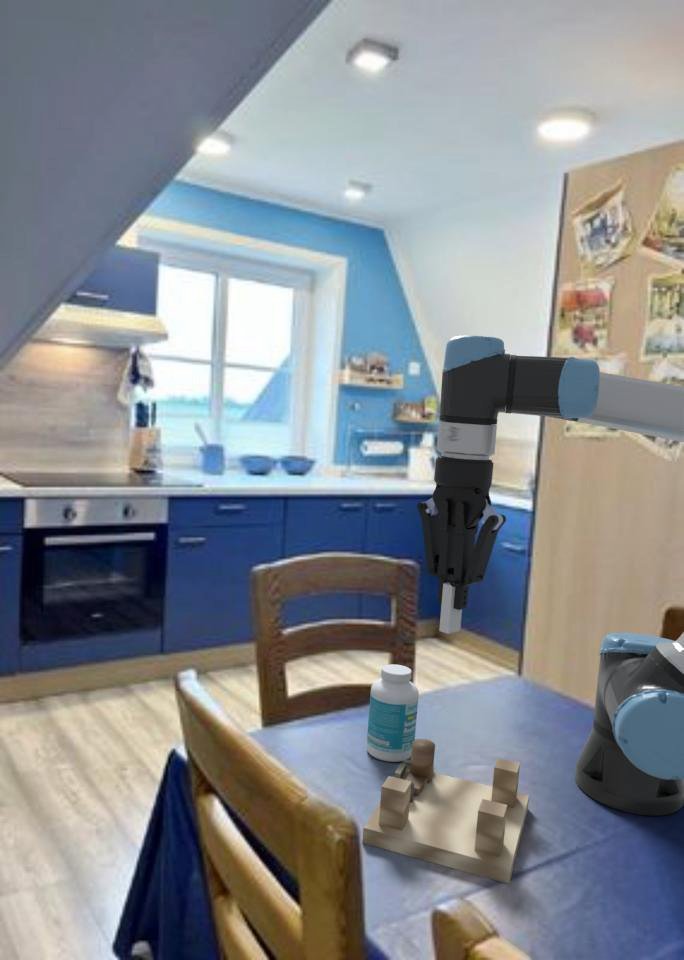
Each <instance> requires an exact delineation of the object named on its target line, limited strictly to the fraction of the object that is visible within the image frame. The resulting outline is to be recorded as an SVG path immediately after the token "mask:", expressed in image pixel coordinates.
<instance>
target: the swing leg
mask: <svg viewBox="0 0 684 960" xmlns="http://www.w3.org/2000/svg"><path fill="white" fill-rule="evenodd" d="M435 751H436V744H435V742H433V741H432V740H430V739H427V738H426V739H425V738H418V739H416V738H415V740H414V741H413V742H412V751H411V757H410V760H411V763H410V774H409V776H408V777H407V778H406V780H409V781H412V782H413V783H414V784H415V785H414V794H415V795H419V794H420V792H421V791H422V789H423V788H424V787H425V785H426V784H427V783H430V782H431V781H432V776H433V766H435V763H434V762H435V761H434V760H435Z"/></svg>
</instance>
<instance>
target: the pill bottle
mask: <svg viewBox="0 0 684 960" xmlns="http://www.w3.org/2000/svg"><path fill="white" fill-rule="evenodd" d="M380 677H381V678H378V679H376V680H375V681H374V682H373V683H372V685H371V687H370V694H369V695H370V698H369V711H368V712H369V713H368V722H367V732H366V733H367V734H366V751H367V752H368V753H369V754H370V756H372V757H373V758H375V759H377V760H380V761H383V762H392V763H395V762H396V763H397V762H404V760H405V759H407V760H410V759H411V751H412V742H413V741H414V740H416V729H417V715H418V706H419V696H420V695H419V689H418V687H417V686H416V685H415V683H413V682H412V681H411V679H412V669H411V668H409V667H408V666H405V665H401V664H395V663H394V664H392V663H391V664H385V665H383V666H382V667H381V670H380Z"/></svg>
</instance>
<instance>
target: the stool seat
mask: <svg viewBox="0 0 684 960" xmlns="http://www.w3.org/2000/svg"><path fill="white" fill-rule="evenodd" d="M410 763H411V759H405V760H404V761H402V762H401V763H399V766H398V767H397V769H396V770H395V772H394V775H393V776H390V775H388V776H387V777H386V780H385V781H383V784H382V785H381V791H380V800H379V802H378V804H377V805H376V807H375V809H374V811H373V812H372V814H371V815H370V816H369V818H368V820H367V821H366V823H365V825H364V826H363V829H362V840H361V841H362V842H361V843H362V844H366V845H369V846H373V847H375V848H376V847H377V848H379V849H382V850H385V851H386V850H387V851H390V852H393V853H397V854H401V855H405V856H408V857H412V858H415V859H419V860H422V861H426V862H429V863H432V864H433V863H434V864H437V865H441V866H442V867H443V866H444V867H446V868H447V867H448V868H450V869H451V868H452V869H455V870H459V871H461V872H465V873H469V874H473V875H476V876H480V877H483V878H486V879H490V880H495V881H498V882H500V883H505V884H508V885H510V882H511V878H512V874H513V869H514V865H515V863H516V862H515V861H516V858H517V853H518V850H519V846H520V841H521V838H522V835H523V834H522V833H523V830H524V825H525V822H526V817H527V814H528V809H529V802H530V801H529V800H530V794H525V793H521V792H518V789H519V788H518V787H519V778H520V769H521V768H520V767H521V762H518V761H515V760H514V761H513V760H511V759H510V760H508V759H504V758H500V757H497V759H496V762H495V765H494V767H493V768H494V769H493V776H492V777H493V778H492V785H488V784H483V783H479V782H475V781H471V780H466V779H462V778H458V777H453V776H449V775H446V774H441V773H437V772H435V769H436V767H435V765H433V776H432V781H431V782H430V783H427V784H426V785H425V787H424V788H423V789H422V791H421V792H420V794H419V795H415V794H414V785H415V784H414V783H413V782H412V781H409V780H406V778H407V777H408V776H409V774H410Z"/></svg>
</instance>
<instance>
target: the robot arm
mask: <svg viewBox="0 0 684 960" xmlns="http://www.w3.org/2000/svg"><path fill="white" fill-rule="evenodd" d="M441 372H442V374H441V376H442V377H441V389H440V390H441V391H440V403H439V418H438V420H439V422H438V423H439V424H438V430H437V431H438V433H437V441H436V443H437V444H436V450H437V451H438V452H440V455H437V457H436V458H435V464H434V478H433V480H434V482H435V483H436V485H435V489H434V491H433V492H432V497H431V498H429V499H427V500H426V501H422V502H418V503H417V505H416V508H417V512H418V513H419V516H420V519H421V524H422V525H421V526H422V531H423V532H422V533H423V543H424V553H425V561H426V570H427V573H428V574H429V575H433V576H434V577H436V578H437V580H438V590H437V591H438V594H437V603H438V605H441V606H440V621H439V632H442V633H445V634H448V635H449V634H452V633H456V632H460V631H461V625H462V616H463V614H462V613H463V610H465V609H466V608H467V606H468V599H469V590H470V589H469V587H470V586H471V585H474V584H478V583H481V582H483V581H484V578H485V575H486V571H487V567H488V565H489V561H490V558H491V556H492V552H493V549H494V546H495V542H496V540H497V535H498V533H499V531H500V530H501V529H502V528H503V526H504V525H505V523H506V522H507V517H506V515H504V514H501V513H500V514H499V513H498V512H496V510H495V509H494V508H493V507H492V500H491V497H490V489H491V487H492V483H493V474H494V473H493V472H494V462H493V459H490V457H491V456H494V455H495V454H496V453H495V452H496V443H497V442H496V441H497V429H498V416H499V413H503V414H515V415H527V416H537V417H548V418H554V419H559V420H563V421H564V420H565V421H569V422H576V423H580V424H586V425H592V426H598V427H604V428H608V429H613V430H619V431H624V432H629V433H633V434H640V435H644V436H650V437H655V438H659V439H660V438H662V439H666V440H672V441H677V442H683V443H684V386H683V385H679V384H678V385H677V384H671V383H666V382H661V381H654V380H648V379H642V378H637V377H633V376H632V377H631V376H626V375H625V376H624V375H619V374H613V373H607V372H604V371H603V372H602V371H600V366H599V364H598V362H597V361H596V360H593V359H586V358H577V357H574V356H569V357H560V356H559V357H557V356H536V355H534V356H533V355H529V356H528V355H517V354H510V353H506V350H505V343H504V340H503V339H502V338H499V337H494V336H483V335H456V336H452V337H451V338H449V340H448V342H447V343H446V345H445V353H444V362H443V368H442V371H441ZM480 521H481V524H482V525H481V527H480V529H479V523H480ZM477 533H478V535H477ZM476 535H477V539H476ZM475 541H476V542H475ZM598 655H599V656H600V657H599V664H598V665H599V667H598V675H597V685H596V693H595V702H594V709H593V710H594V713H593V722H592V729H591V731H590V734H589V736H588V738H587V740H585V741H586V742H585V744H584V746H583V748H582V750H581V752H580V754H579V756H578V758H577V760H576V763H575V771H574V772H575V773H574V779H575V780H574V781H575V784H576V785H577V786H578V787H579V789H581V791H582V792H583V793H585V794H586V795H587V796H589V797H591V798H592V799H593V800H595V801H597V802H599V803H601V804H603V805H605V806H607V807H610V808H612V809H616V810H619V811H622V812H625V813H631V814H636V815H643V816H667V815H670V814H674V813H676V812H678V811H679V810H681V809H682V807H683V805H684V631H683V632H682V634H681V635H680V636H679V637H678V638H677V639H676V640H673V639H669V638H665V637H660V636H654V635H650V634H649V635H648V634H643V633H633V632H611V633H608V634H606V635H605V636H604V637H603V638H602V642H601V648H600V650H599V652H598Z"/></svg>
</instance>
